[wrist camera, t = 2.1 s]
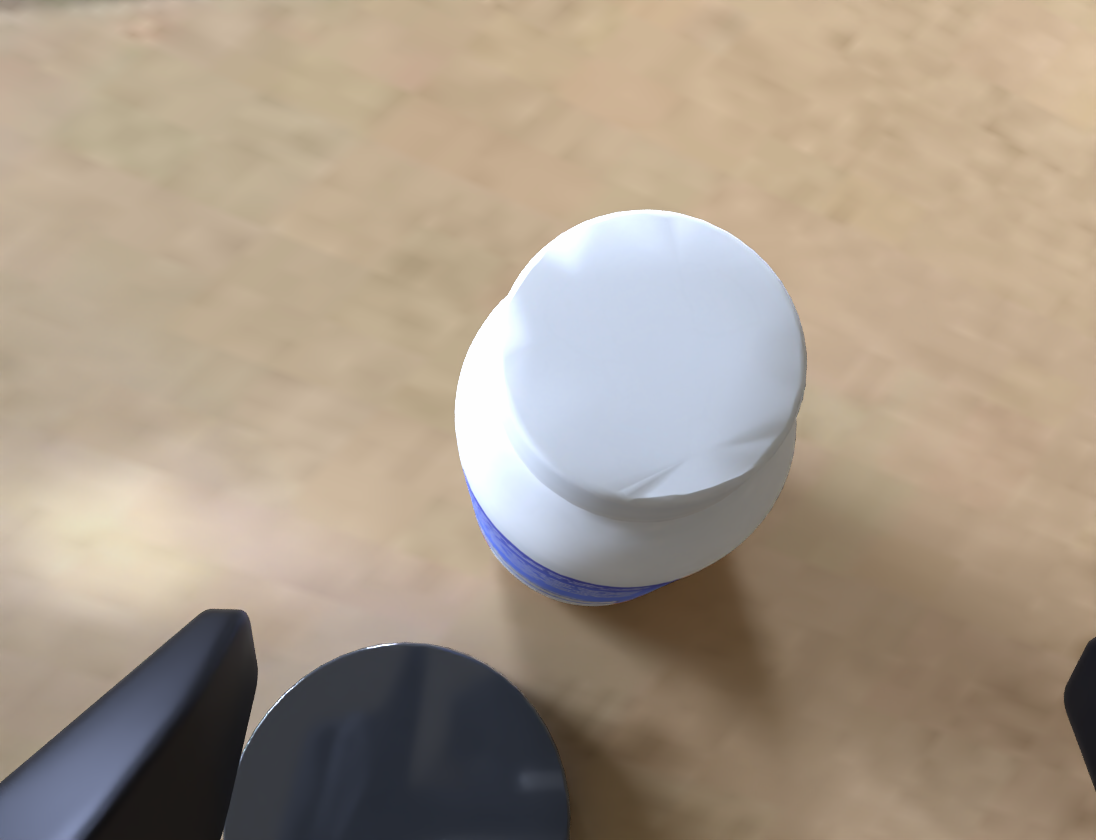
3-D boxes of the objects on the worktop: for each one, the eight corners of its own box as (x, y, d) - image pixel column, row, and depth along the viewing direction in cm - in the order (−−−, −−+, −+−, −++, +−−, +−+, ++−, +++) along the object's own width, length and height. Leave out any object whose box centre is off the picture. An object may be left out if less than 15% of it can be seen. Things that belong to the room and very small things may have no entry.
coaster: (629, 876, 18) (635, 886, 17) (328, 1076, 17) (320, 1097, 16) (467, 583, 20) (466, 581, 19) (178, 751, 18) (163, 756, 18)
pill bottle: (667, 639, 19) (814, 638, 10) (439, 562, 20) (375, 490, 10) (730, 417, 21) (913, 233, 11) (516, 347, 21) (521, 109, 12)
